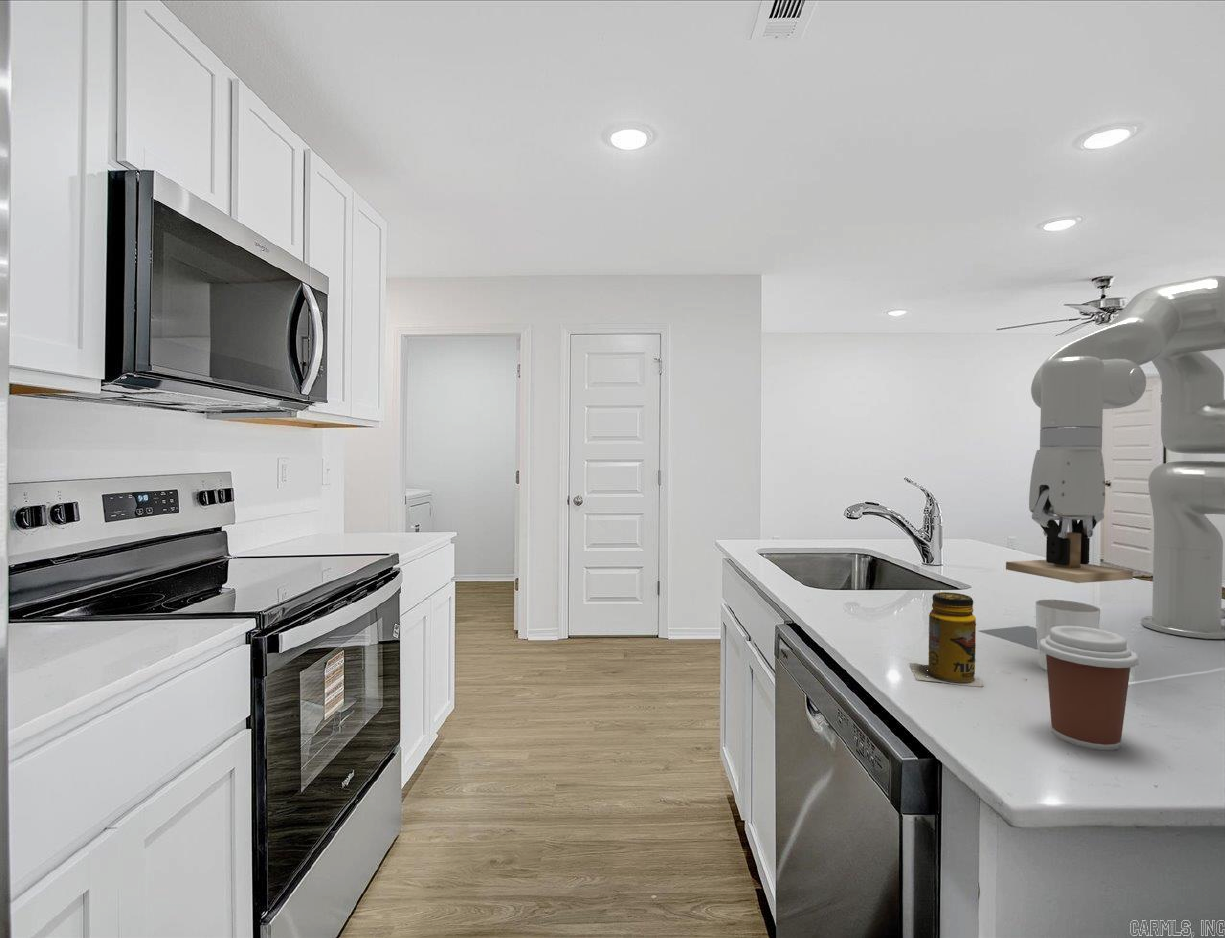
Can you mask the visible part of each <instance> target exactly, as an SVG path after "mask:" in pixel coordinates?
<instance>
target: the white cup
mask: <svg viewBox="0 0 1225 938" xmlns="http://www.w3.org/2000/svg"><path fill="white" fill-rule="evenodd" d="M1100 618H1101V608H1099V607H1097V606H1094V605H1092V604H1087V603H1083V602H1078V601H1071V600H1065V599H1064V600H1061V599H1040V600H1036V601H1035V624H1036V625H1035V628H1036V632H1037V648H1038V666H1039V667H1040V668H1041V669H1043V670H1046V671H1047V661H1046V654H1045V653H1044V652H1042V651H1041V650H1039V645H1040V640H1041V639H1044V638H1046V636H1048V635H1050V629H1051V628H1053V627H1056V626H1080V627H1088V628H1095V629H1100Z"/></svg>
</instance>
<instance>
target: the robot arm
mask: <svg viewBox="0 0 1225 938" xmlns="http://www.w3.org/2000/svg"><path fill="white" fill-rule="evenodd" d="M1224 349H1225V276H1223V275H1211V276H1205V277H1204V276H1203V277H1198V278H1194V279H1189V280H1182V281H1177V282H1176V281H1175V282H1170V283H1166V284H1160V285H1156V286H1153V287H1149V288H1146V289H1144V290H1142V291H1140V292H1139V293H1137V294H1136V295H1135V296H1133V297H1132V298H1131V300H1130V301H1129V302H1128V303H1127V304H1126V305H1125V306H1124V307H1123V309H1122V310H1121V311H1120V312H1119V313H1118V314H1117V315H1116V317H1114V319H1113V320H1112V321H1111V322H1110V323H1109V325H1106V326H1104V327H1102V328H1099V329H1097V330H1095V331H1092V332H1091V333H1088V334H1086V335H1084V336H1083V337H1080V338H1078V339H1076V340H1074V341H1072V342H1070V343H1068V344H1066V345H1063V346H1062V347H1060V348H1058V349H1057V350H1056V351H1054V352H1053V353H1052V354H1051V355H1050V356H1049V357H1048V358H1047V359H1046V360H1045V361H1044V362H1043V363H1042V365H1040V366H1039V368H1038V370H1037V371H1036V373H1035V375H1034V377H1033V379H1032V382H1031V385H1030V386H1031V387H1030V393H1031V399H1032V400H1033V402H1034V403H1035V405H1036V406H1037V407H1038V408H1039V409H1040V421H1039V422H1040V424H1039V425H1040V427H1039V428H1040V429H1039V449H1036V452H1035V455H1034V458H1033V463H1032V469H1031V476H1030V485H1029V495H1028V497H1029V498H1028V509H1029V512H1030V513H1032V515H1031V519H1032V520H1033V521H1034V522H1035V523H1037V524H1038V525H1040V527H1041V528H1042V530H1043V532H1042V533H1043V535H1044V537H1046V545H1045V546H1046V547H1045V550H1046V552H1045V554H1046V555H1045V560H1046V561H1047V562H1048V563H1053V564H1059V565H1069V564H1070V538H1066V537H1067V532H1074V533H1080V534H1081V561H1080V564H1090V549H1091V548H1090V547H1091V545H1090V541H1091V539H1090V538H1092V537H1093V535H1094V531H1093V530H1094V529H1095V527H1096V525H1097V524H1098V523H1100V522H1101V521H1102V520H1104V517H1105V513H1104V510H1105V505H1106V477H1105V475H1106V473H1105V464H1104V459H1103V457H1104V456H1103V453H1102V450H1103V419H1104V418H1103V415H1104V413H1103V412H1104V410H1110V409H1111V410H1113V409H1121V408H1125V407H1129V406H1131V405H1133V404H1135V403H1136V402H1138V401H1139V400H1140V399H1141V398H1142V397H1143V395H1144V394H1145V390H1146V387H1147V377H1146V374H1145V372H1144V370H1143V368H1142V367H1140V366H1143V365H1144V364H1147V363H1149V362H1152V364H1153V365H1154V367H1155V368H1156V371H1157V372H1158V374H1159V377H1160V381H1161V409H1160V410H1161V412H1160V415H1161V416H1160V437H1161V443H1162V445H1163V447H1164V448H1165V449H1167V450H1168V451H1171V452H1174V453H1179V454H1193V455H1194V454H1197V455H1200V454H1204V455H1206V454H1209V455H1210V454H1211V455H1213V454H1216V455H1217V454H1219V455H1221V454H1222V455H1223V454H1224V455H1225V398H1224V397H1225V396H1224V394H1225V389H1224V387H1225V375H1224V371H1223V370H1222V369H1221V367H1219V365H1218V364H1217V363H1216V362H1215V361H1214V360H1212V359H1211V358H1210V357H1209V356H1207V355H1206V354H1205V353H1203V352H1206V351H1215V350H1224ZM1147 482H1148V492H1149V498H1150V502H1151V508H1152V516H1153V553H1152V554H1153V557H1152V559H1153V563H1152V566H1153V567H1152V608H1151V609H1152V611H1151V615H1148V616H1143V617H1141V625H1142V626H1143V627H1146V628H1147V629H1151V630H1154V631H1157V632H1161V633H1165V634H1171V635H1176V636H1181V637H1187V638H1195V639H1205V640H1225V625H1222V620H1224V619H1225V607H1222V599H1223V598H1222V597H1223V594H1222V593H1223V563H1224V562H1223V560H1224V559H1223V555H1224V554H1223V553H1224V552H1223V551H1224V541H1223V536H1222V534H1221V532H1220V531H1219V529H1218V528H1217V527H1216V526H1215V525H1214V524H1213V522H1211V520H1210V519H1209V518H1208V517H1207V516H1206V515H1225V461H1219V460H1218V461H1215V460H1206V461H1205V460H1178V461H1170V462H1166V463H1162V464H1160V465H1158V466H1156V467H1155V468H1153V470H1152V471H1151V472H1150V474H1149V476H1148V481H1147ZM1057 521H1058V522H1057Z"/></svg>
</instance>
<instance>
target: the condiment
mask: <svg viewBox="0 0 1225 938" xmlns="http://www.w3.org/2000/svg"><path fill="white" fill-rule="evenodd" d="M931 598H932V603H931V607H932V609H931V611H930V612H929V617H928V664H921V663H916V662H909V666H910V668H911V671H912V670H914V671H912V673H914V674H913V676H914V677H915V678H916V681H925V682H935V683H946V684H949V685H950V684H951V685H957V686H958V685H959V686H967V687H971V686H972V687H978V688H979V687H980V688H981V687H984V685H983V684H982V683H981V682H980V680H979V679H978V678H977V677H976V675H975V674H976V670H975V669H976V646H977V645H976V635H977V634H976V633H977V632H976V626H977V623H976V621H977V619H976V617H975V615H974V614H973V613H974V599H973V598H972V597H971V596H970V595H966V594H963V593H959V592H946V591H943V592H941V591H940V592H936V593H934V594H933V595H932V596H931ZM927 670H928V671H927ZM927 676H928V677H927Z"/></svg>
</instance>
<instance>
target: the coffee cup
mask: <svg viewBox="0 0 1225 938" xmlns="http://www.w3.org/2000/svg"><path fill="white" fill-rule="evenodd" d="M1039 650H1041V651H1042V652H1044V653H1045V654H1046V661H1047V670H1046V671H1047V685H1048V687H1047V688H1048V698H1049V710H1050V711H1049V712H1050V723H1051V728H1050V729H1051V733H1052V734H1053V735H1054V736H1055V737H1056V738H1057V739H1060V740H1062V741H1064V742H1065V743H1068V744H1072V745H1075V746H1077V747H1081V748H1086V749H1090V750H1095V751H1096V750H1098V751H1116V750H1118V749H1120V748H1121V747H1122V738H1123V737H1122V736H1123V727H1124V721H1125V714H1126V706H1127V705H1126V704H1127V697H1128V690H1129V689H1128V688H1129V681H1130V673H1131V668H1133V667H1135V666H1138V665H1139V657H1138V654H1137V653H1136V652H1134V651H1132V650H1131V648H1130V647H1129V646H1128V645H1127V639H1126V638H1125V637H1124V636H1123V635H1120V634H1119V633H1116V632H1112V631H1109V630H1104V629H1100V628H1099V629H1095V628H1088V627H1080V626H1056V627H1053V628H1051V629H1050V635H1048V636H1046V638H1044V639H1041V640H1040V645H1039Z"/></svg>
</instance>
